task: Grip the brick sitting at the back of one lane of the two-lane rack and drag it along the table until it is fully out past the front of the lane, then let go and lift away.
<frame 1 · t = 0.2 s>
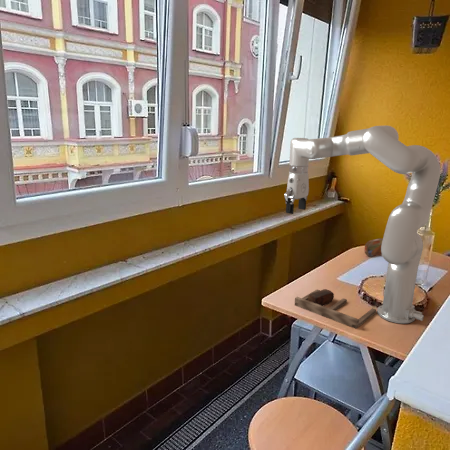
hand: (295, 211, 165), 31 cm above the table, tool pointing down, fingers open, 9 cm apart
brick: (320, 304, 153), on the table
tin: (375, 255, 206), on the table
lane rack: (334, 308, 149), on the table
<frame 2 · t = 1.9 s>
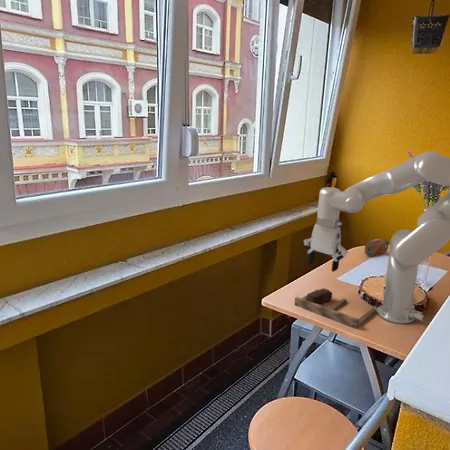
hand: (322, 266, 148), 15 cm above the table, tool pointing down, fingers open, 9 cm apart
nothing on the table moved.
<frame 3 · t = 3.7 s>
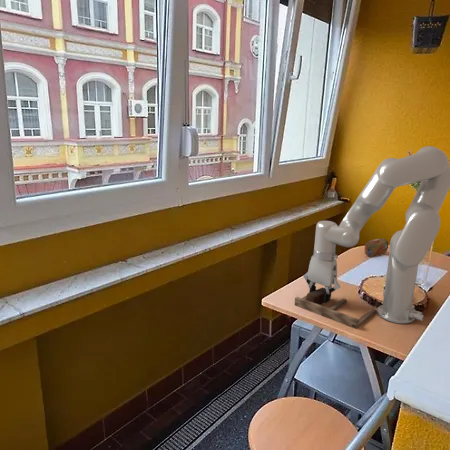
hand: (319, 299, 152), 2 cm above the table, tool pointing down, fingers open, 5 cm apart
brick: (318, 303, 153), on the table, touching gripper
everything else where it was.
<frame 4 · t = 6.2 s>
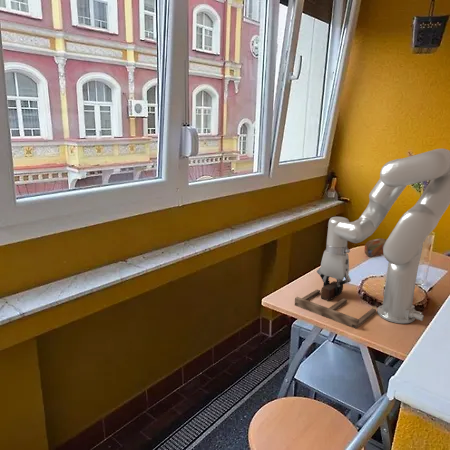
hand: (331, 292, 159), 2 cm above the table, tool pointing down, fingers closed on brick, 4 cm apart
brick: (331, 296, 159), on the table, touching gripper
everything else where it was.
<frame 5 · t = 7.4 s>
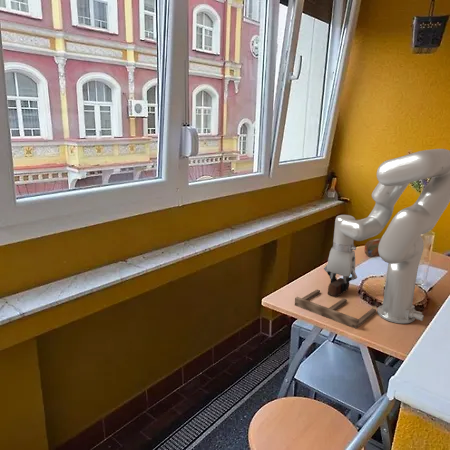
hand: (338, 289, 162), 1 cm above the table, tool pointing down, fingers closed on brick, 4 cm apart
brick: (338, 292, 162), on the table, touching gripper
everything else where it was.
when the fingers open (1 cm above the table, at t = 8.2 s): brick stays where it is, on the table.
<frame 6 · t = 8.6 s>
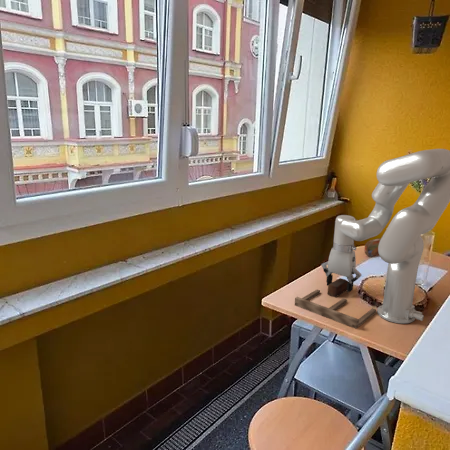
hand: (339, 287, 162), 2 cm above the table, tool pointing down, fingers open, 8 cm apart
brick: (337, 293, 163), on the table
everything else where it was.
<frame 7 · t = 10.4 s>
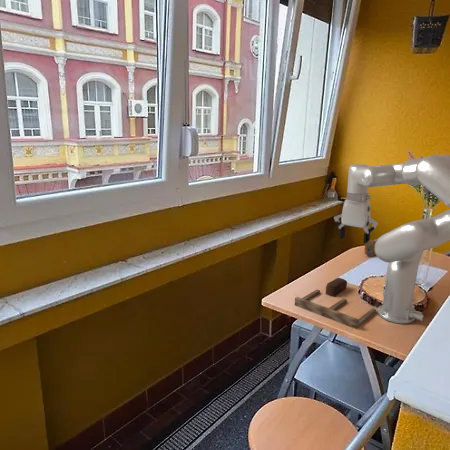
hand: (353, 240, 157), 22 cm above the table, tool pointing down, fingers open, 9 cm apart
nothing on the table moved.
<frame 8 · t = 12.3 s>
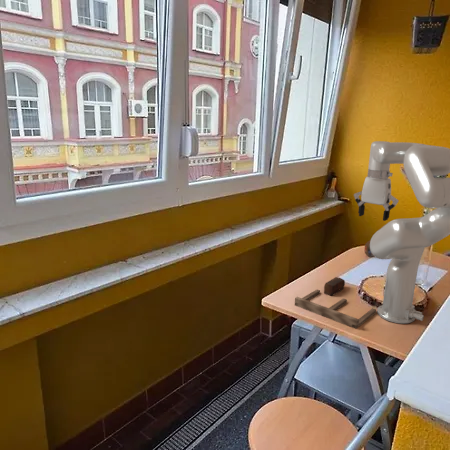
hand: (373, 217, 158), 30 cm above the table, tool pointing down, fingers open, 9 cm apart
at the end: brick inside the target area (2.8 cm from its centre), on the table; brick tilted 0°; the gripper is holding nothing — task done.
